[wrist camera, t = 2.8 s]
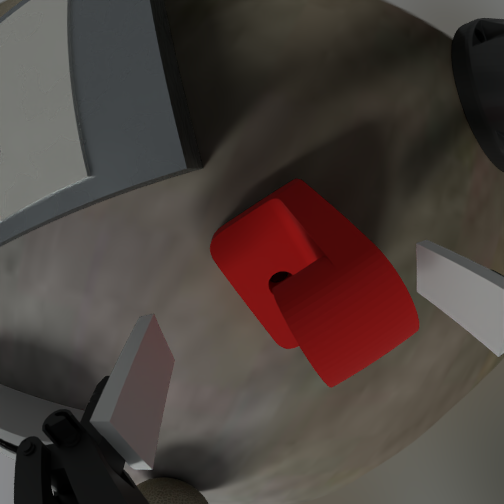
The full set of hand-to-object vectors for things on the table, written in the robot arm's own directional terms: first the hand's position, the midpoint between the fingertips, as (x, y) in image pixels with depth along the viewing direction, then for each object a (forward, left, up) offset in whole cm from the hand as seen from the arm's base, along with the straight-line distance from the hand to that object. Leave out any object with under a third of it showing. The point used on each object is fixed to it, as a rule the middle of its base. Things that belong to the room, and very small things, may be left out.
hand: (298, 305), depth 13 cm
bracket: (0, 0, -6) cm, 6 cm away
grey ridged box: (+13, -14, -6) cm, 20 cm away
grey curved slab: (+28, +10, -6) cm, 30 cm away
